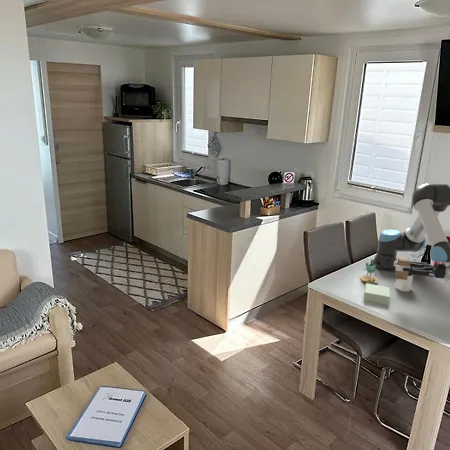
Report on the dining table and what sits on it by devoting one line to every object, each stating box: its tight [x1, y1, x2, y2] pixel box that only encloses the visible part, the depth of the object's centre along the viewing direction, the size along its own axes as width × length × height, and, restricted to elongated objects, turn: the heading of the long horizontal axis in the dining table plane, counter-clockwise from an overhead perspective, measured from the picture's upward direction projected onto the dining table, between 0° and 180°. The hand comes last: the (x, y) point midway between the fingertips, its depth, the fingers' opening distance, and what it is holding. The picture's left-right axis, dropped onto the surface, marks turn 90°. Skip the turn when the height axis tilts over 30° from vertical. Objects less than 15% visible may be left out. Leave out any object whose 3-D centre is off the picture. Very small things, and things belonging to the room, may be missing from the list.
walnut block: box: [394, 256, 411, 280], centre depth 211 cm, size 5×5×10 cm
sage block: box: [363, 282, 391, 306], centre depth 219 cm, size 12×12×5 cm
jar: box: [394, 272, 414, 292], centre depth 230 cm, size 9×8×12 cm
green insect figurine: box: [359, 258, 379, 285], centre depth 238 cm, size 10×18×15 cm, turn 163°
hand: (395, 265), depth 211 cm, fingers closed on walnut block, 5 cm apart
